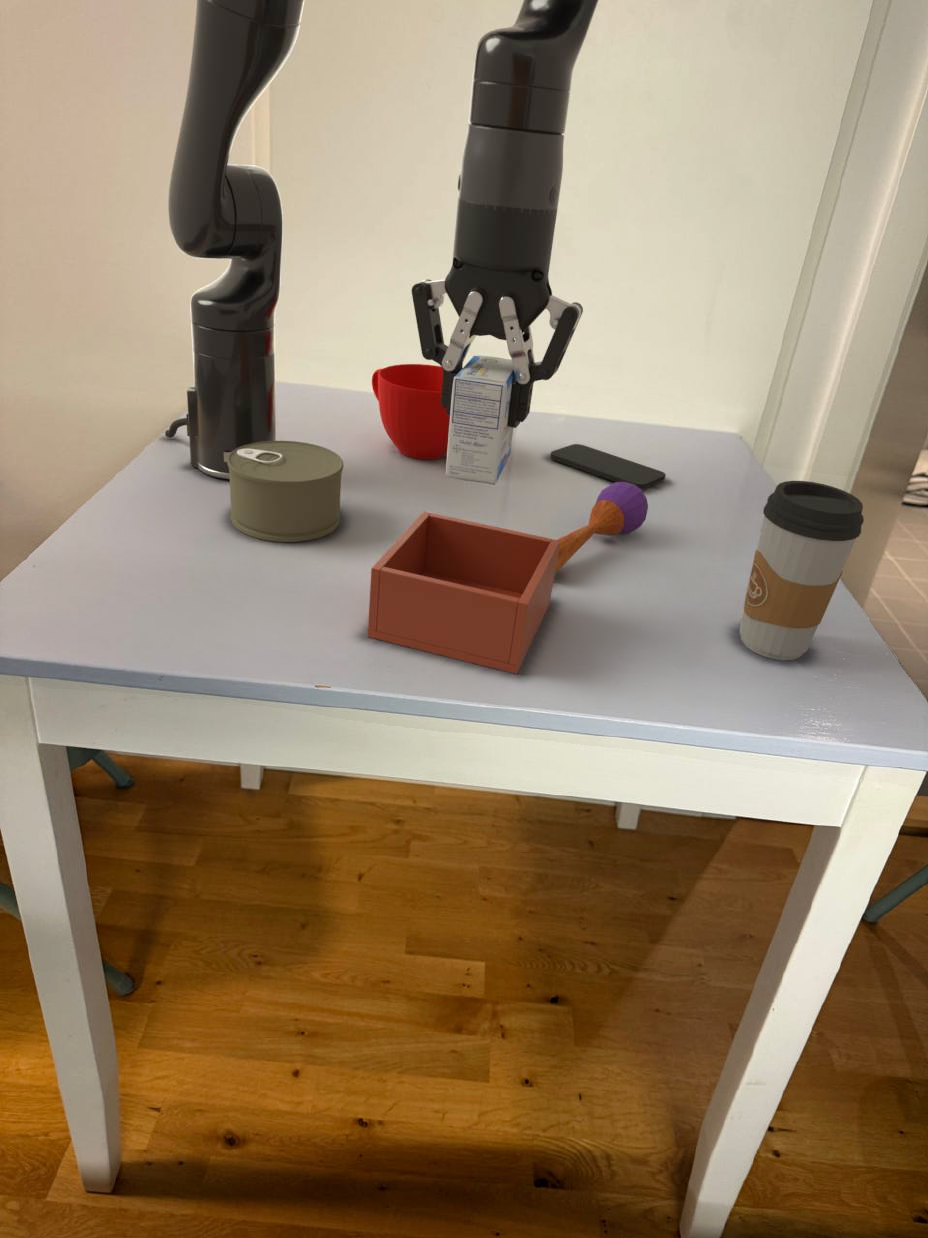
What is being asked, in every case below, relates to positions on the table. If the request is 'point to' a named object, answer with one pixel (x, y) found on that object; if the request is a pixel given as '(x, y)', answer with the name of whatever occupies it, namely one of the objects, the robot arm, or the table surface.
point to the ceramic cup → (413, 409)
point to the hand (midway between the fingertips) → (483, 418)
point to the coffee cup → (797, 566)
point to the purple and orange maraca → (607, 518)
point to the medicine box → (480, 420)
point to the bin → (463, 590)
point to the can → (285, 490)
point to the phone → (608, 465)
